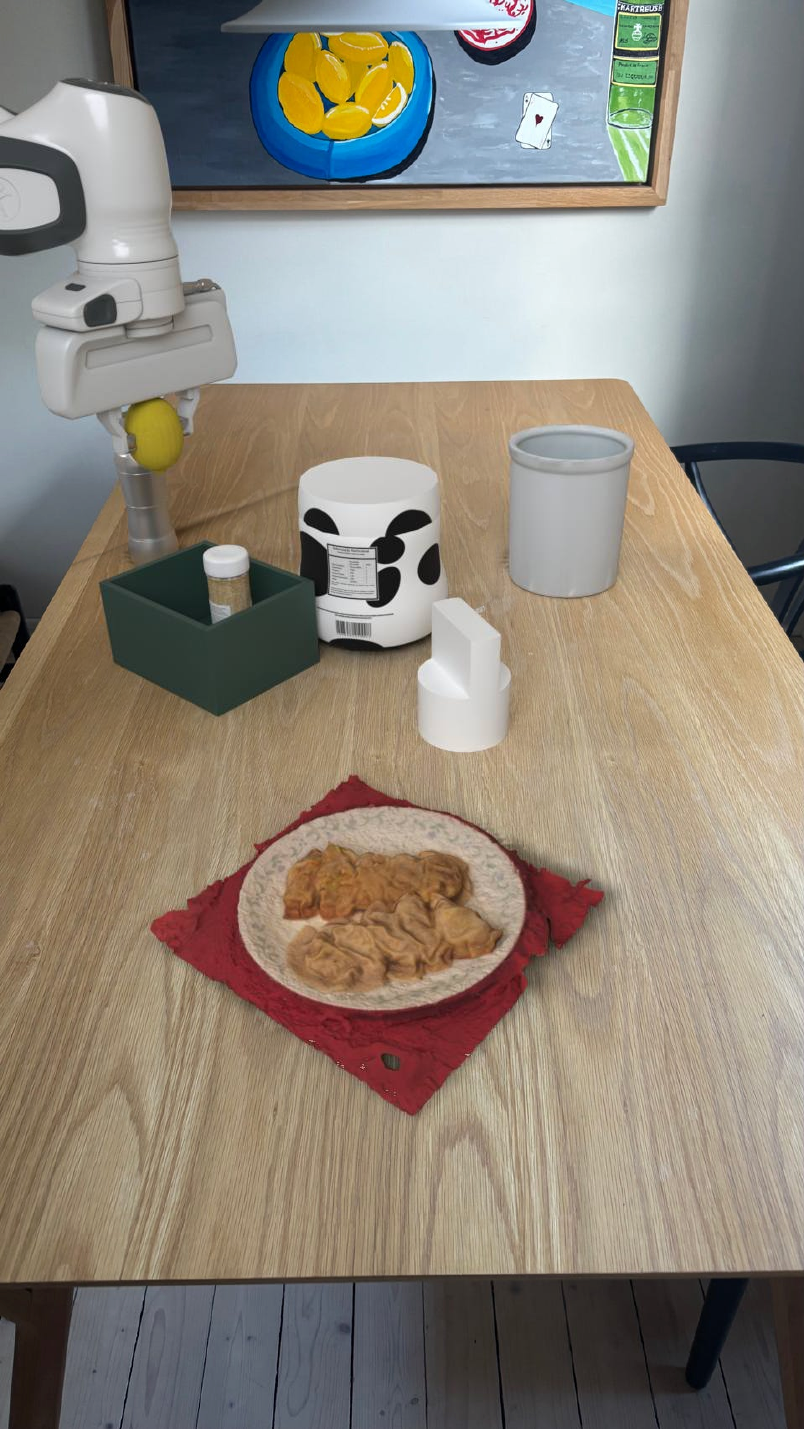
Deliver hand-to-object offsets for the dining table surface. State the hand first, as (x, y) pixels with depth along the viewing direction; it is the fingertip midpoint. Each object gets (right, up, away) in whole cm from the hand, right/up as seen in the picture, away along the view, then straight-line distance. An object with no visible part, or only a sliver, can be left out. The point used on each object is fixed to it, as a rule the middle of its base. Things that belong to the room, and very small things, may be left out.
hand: (154, 443), depth 99 cm
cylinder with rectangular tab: (+30, -28, +3) cm, 41 cm away
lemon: (0, -3, +2) cm, 3 cm away
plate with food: (+22, -43, -21) cm, 52 cm away
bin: (+3, -20, +14) cm, 25 cm away
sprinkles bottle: (+6, -21, +12) cm, 25 cm away
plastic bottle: (-9, -7, +36) cm, 38 cm away
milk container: (+21, -16, +21) cm, 33 cm away
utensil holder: (+44, -9, +32) cm, 55 cm away
